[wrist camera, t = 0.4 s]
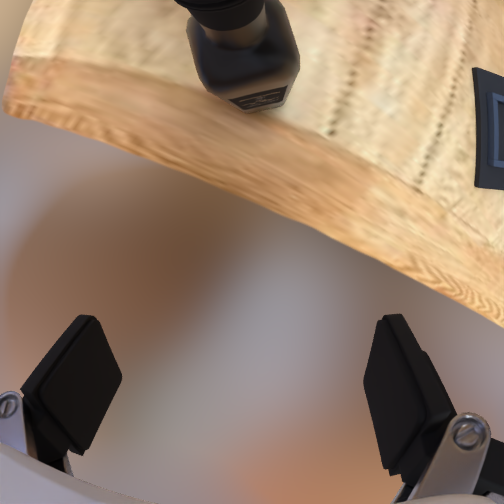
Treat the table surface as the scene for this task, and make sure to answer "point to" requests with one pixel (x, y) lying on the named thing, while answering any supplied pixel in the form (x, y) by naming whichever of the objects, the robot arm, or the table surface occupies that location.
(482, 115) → the black pad
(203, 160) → the table surface
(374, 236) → the table surface
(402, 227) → the table surface
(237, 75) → the wine bottle
